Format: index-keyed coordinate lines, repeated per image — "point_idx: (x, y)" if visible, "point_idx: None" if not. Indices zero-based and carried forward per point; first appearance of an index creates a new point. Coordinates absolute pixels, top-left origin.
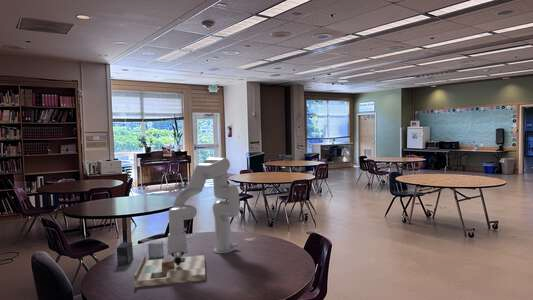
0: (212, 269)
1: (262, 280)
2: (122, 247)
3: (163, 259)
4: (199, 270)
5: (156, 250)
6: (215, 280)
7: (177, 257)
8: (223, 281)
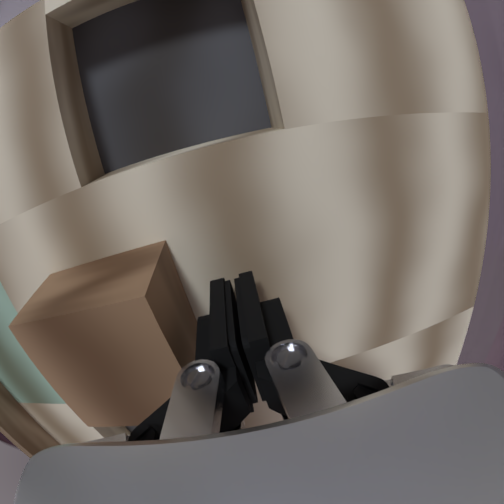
0: (491, 209)
1: None
2: None
3: (34, 351)
4: (435, 354)
5: None
6: (465, 358)
7: (243, 374)
8: (484, 358)
